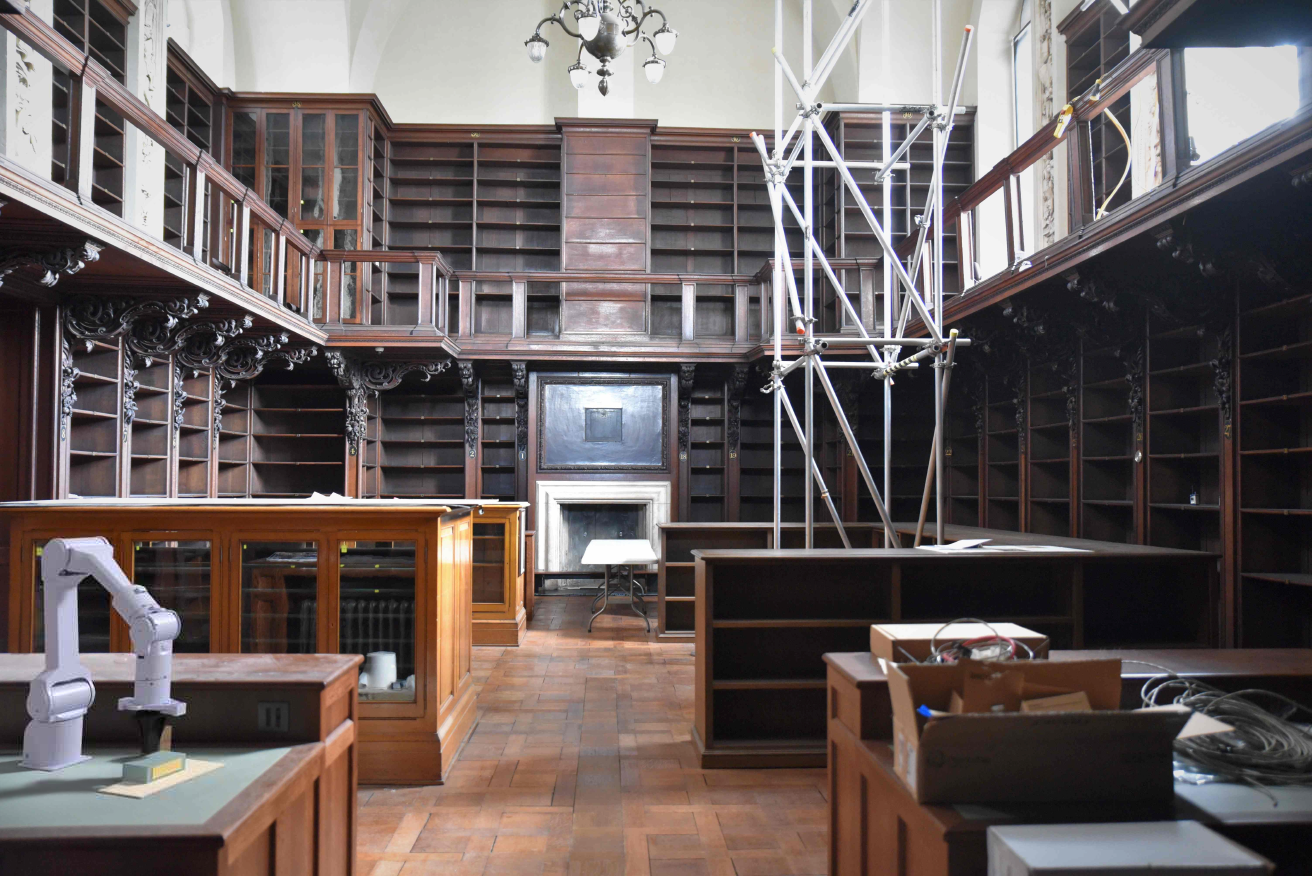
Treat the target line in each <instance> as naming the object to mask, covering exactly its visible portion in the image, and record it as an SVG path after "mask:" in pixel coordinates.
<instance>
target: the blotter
mask: <svg viewBox="0 0 1312 876" xmlns="http://www.w3.org/2000/svg"><path fill="white" fill-rule="evenodd" d="M226 766H227V763H223V762H221V763H220V762H213V761H206V760H200V759H199V760H198V759H191V758H186V762H185V770H183V771H180V772H178V773H175V774H172V775H170V776H167V777H164V778H162V779H159V780H156V781H153V782H151V783H148V784H144V783H137V782H130V781H123V780H122V781H121V782H118V783H115V784H112V785H108V786H107V787H103V788H100V789H98V790H97V791H98V793H101V794H102V793H104V794H108V795H116V796H121V797H127V798H128V797H130V798H136V799H141V800H142V799H144V798H146V797H148V796H151V795H154V794H156V793H160V792H161V791H164V790H167V789H169V788H172V787H175V786H177V785H180V784H182V783H185V782H187V781H190V780H192V779H195V778H198V777H200V776H204V775H205V774H208V773H210V772H213V771H216V770H219V769H221V768H224V767H226Z"/></svg>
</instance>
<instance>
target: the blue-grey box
mask: <svg viewBox="0 0 1312 876" xmlns="http://www.w3.org/2000/svg"><path fill="white" fill-rule="evenodd" d="M186 757H187V753H185V752H184V753H183V752H175V751H171V750H170V751H163V750H162V751H159V752H156V753H153V754H150V755H147V756H144V757H141V758H140V757H138V758H135V759H132V760H129V761H127V762H126V761H125V762H122V770H121V772H122V773H121V774H122V775H121V781H122V782H123V781H130V782H137V783H144V784H148V783H151V782H153V781H156V780H159V779H162V778H164V777H167V776H170V775H172V774H175V773H178V772H180V771H183V770H185V762H186V759H187V758H186Z"/></svg>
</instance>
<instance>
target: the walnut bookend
mask: <svg viewBox="0 0 1312 876" xmlns="http://www.w3.org/2000/svg"><path fill="white" fill-rule="evenodd" d="M171 744H172V726H171V725H166V726H165V728H164V731H163V733H162V736H161V739H160V742H159V745H158V748H157V750H156V751H153V752H150V753H142V750H141V749H140V754H139V755H140V757H139V758H141V757H144V756H147V755H150V754H153V753H156V752H159V751H162V750H163V751H170V752H171V748H172V747H171V746H172V745H171Z"/></svg>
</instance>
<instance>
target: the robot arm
mask: <svg viewBox="0 0 1312 876" xmlns="http://www.w3.org/2000/svg"><path fill="white" fill-rule="evenodd" d="M40 553H41V554H40V561H41V562H40V564H41V580H42V581H43V603H44V604H43V607H44V608H43V609H44V612H43V613H44V614H43V615H44V658H45V659H44V660H45V661H44V663H45V665H44V666H45V667H44V670H43V671H41V672H40V673H39V674H37V675H36V676H35V677H34V678H33V679H32V680H31V681H30V683H29V693H28V696H27V700H26V710H27V713H28V715H29V716H30V717H31V719H32V720H31V721H29V723H28V724H27V725H26V727H25V730H24V732H23V733H24V734H23V735H24V736H23V748H22V762H20V763H18V764H17V767H20V768H26V769H27V768H28V769H34V770H41V771H46V772H53V771H57V770H60V769H64V768H67V767H70V766H74V765H76V764H80V763H83V762H86V761H90V760H92V756H91V755H82V739H83V724H84V723H83V720H84V715H85V714H87V713H88V708H90V707H92V705H93V702H94V700H95V696H96V689H95V685H94V684H93V681H92V675H91V674H92V672H91V671H90V670H89V669H88V668H86V667H84V666H83V665H81V664H80V660H79V657H80V656H79V621H78V617H79V614H78V585H79V584H80V583H81V582H82V581H83V580H84V579H85V578H87V577H88V576H90V575H92V577H93V578H95V580H97V582H99V583H100V584H101V585H102V587H104V588H105V589H106V590H107V591H108V592H109V593H110V594H111V595H112V596H113V598H112V602H111V604H112V607H113V608H114V609H115V610H116V611H117V613H118V614H120V615H119V616H121V617H122V618H123V620H124V621H125V622H126V623H127V624H128V626H129V627H130V629H129V631H128V632H129V637H130V640H131V643H132V644H133V647H132V648H133V653H134V654H133V655H136V656H135V657H136V658H135V673H134V675H135V677H134V697H130V696H127V697H123V698H118V704H117V710H118V711H124V710H128V711H129V710H130V711H136V712H135V714H132V715H130V716H129V721H130V723H131V724H132V725H133V727H134V729H135V732H136V733H137V738H138V741H139V745H140V751H141V750H142V753H150V752H153V751H156V750H157V748H158V745H159V742H160V739H161V736H162V733H163V731H164V728H165V726H166V725H167V724H168V723H169V721H170V720H171V718H172V717H173V716H174V717H178V716H182V715H185V714H187V713H186V712H187V703H186V702H181V701H179V700H176V699H173V698H171V682H172V681H171V679H172V662H173V661H172V660H173V659H172V658H173V656H172V654H173V640H175V639H177V638H178V636H179V635H180V632H181V627H182V626H181V625H182V624H181V619H180V618H179V615H178V614H177V612H176V611H174V610H173V609H166V608H165V607H162V606H160V605H159V604H158V603H157V601H155V599H154V598H153V597H152V595H150V594H149V592H148V590H147V589H146V587H145V586H142V585H141V584H140V585H139V584H132V583H131V582H130V580H129V579H128V578H127V576H126V574H125V573H124V572H123V570H122V569H121V568H120V566H119V565H118V563H117V561H116V560H115V559H114V558H113V557H114V547H113V546H112V545H111V544H110V543H109V541H108V540H107V538H105V537H104V536H94V537H75V538H74V537H73V538H61V537H59V538H57V537H55V538H53V539H50V540H49V542H48V543H46V545H45V546H44V547H43V549H41V551H40ZM167 726H168V725H167Z"/></svg>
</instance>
